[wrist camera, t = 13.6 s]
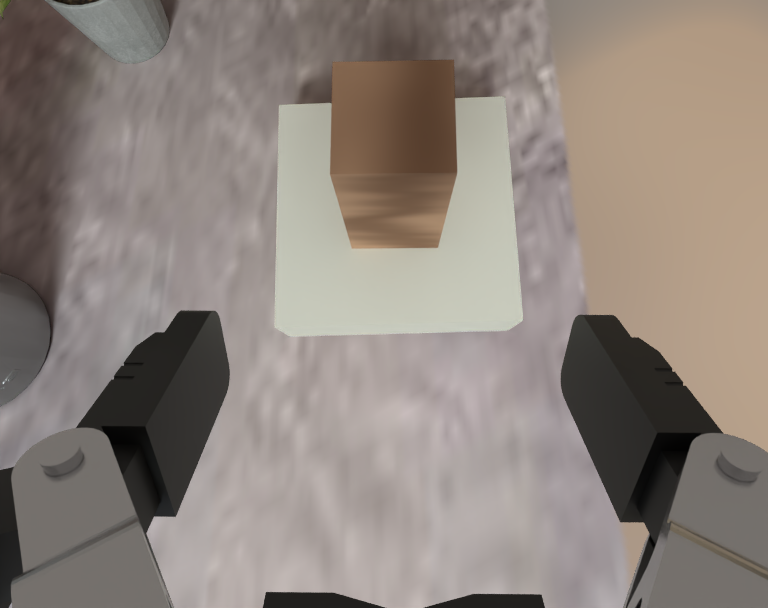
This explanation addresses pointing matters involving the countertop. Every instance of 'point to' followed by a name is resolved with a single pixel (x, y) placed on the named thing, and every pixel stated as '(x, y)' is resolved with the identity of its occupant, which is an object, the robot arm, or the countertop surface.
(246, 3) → the countertop surface
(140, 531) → the robot arm
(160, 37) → the house plant
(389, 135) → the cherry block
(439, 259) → the cream base
